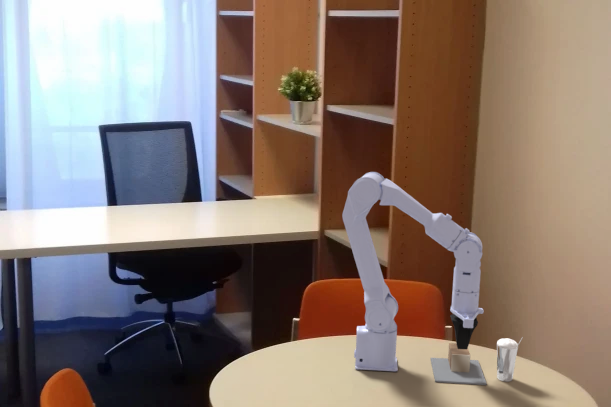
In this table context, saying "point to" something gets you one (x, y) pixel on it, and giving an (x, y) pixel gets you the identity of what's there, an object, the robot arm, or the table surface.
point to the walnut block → (458, 358)
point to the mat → (457, 373)
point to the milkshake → (506, 358)
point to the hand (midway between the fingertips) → (462, 348)
